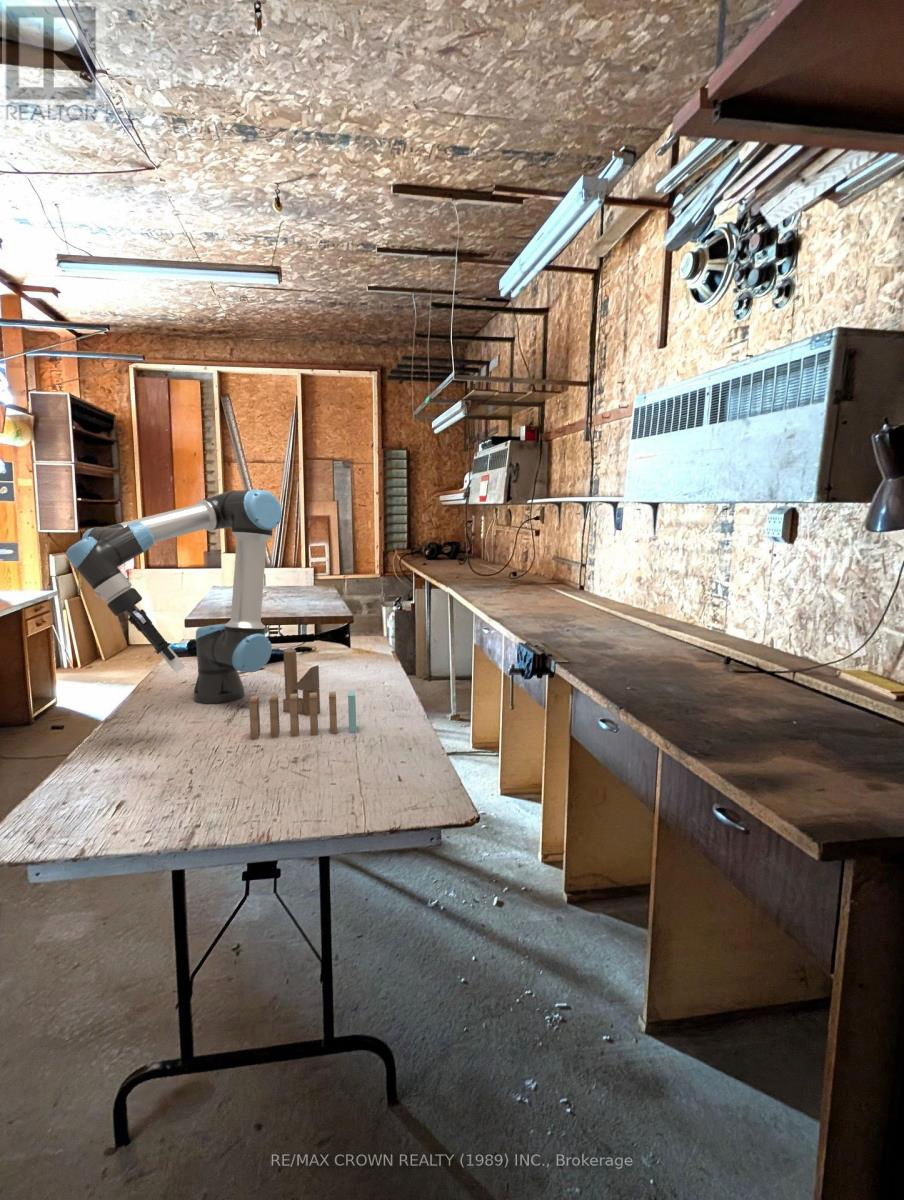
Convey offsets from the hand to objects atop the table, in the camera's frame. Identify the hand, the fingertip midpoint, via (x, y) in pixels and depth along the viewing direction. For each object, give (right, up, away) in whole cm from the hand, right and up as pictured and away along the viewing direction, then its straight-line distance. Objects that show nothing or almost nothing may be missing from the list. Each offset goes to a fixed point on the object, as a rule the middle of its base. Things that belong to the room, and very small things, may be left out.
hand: (180, 669), depth 167 cm
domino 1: (+18, -18, +3) cm, 26 cm away
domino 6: (+43, -17, +8) cm, 47 cm away
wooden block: (+26, -15, +23) cm, 38 cm away
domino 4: (+33, -17, +6) cm, 38 cm away
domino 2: (+23, -17, +4) cm, 29 cm away
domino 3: (+28, -17, +5) cm, 33 cm away
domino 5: (+38, -17, +7) cm, 42 cm away
